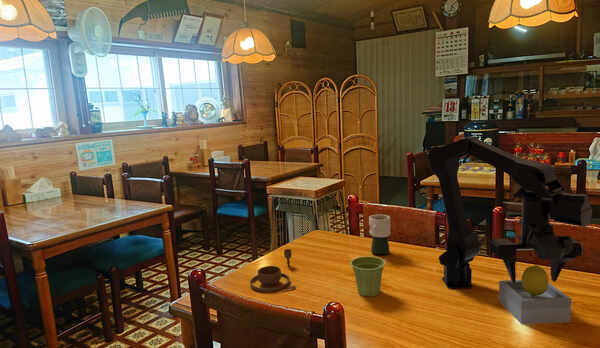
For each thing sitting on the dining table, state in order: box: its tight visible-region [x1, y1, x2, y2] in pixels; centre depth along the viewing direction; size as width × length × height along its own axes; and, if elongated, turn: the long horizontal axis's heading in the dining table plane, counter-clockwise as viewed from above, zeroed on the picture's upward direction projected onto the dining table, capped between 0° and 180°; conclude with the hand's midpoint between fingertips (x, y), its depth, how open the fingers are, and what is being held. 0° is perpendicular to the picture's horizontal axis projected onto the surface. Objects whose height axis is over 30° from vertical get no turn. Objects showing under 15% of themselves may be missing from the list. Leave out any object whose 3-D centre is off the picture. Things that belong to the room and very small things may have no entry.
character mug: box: [368, 214, 391, 255], centre depth 141 cm, size 11×7×13 cm, turn 148°
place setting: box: [249, 248, 297, 295], centre depth 124 cm, size 18×20×6 cm
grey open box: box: [498, 279, 572, 325], centre depth 98 cm, size 11×11×6 cm
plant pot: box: [350, 255, 386, 297], centre depth 112 cm, size 9×9×9 cm
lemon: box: [521, 264, 549, 297], centre depth 97 cm, size 6×6×8 cm
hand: (533, 281), depth 97 cm, fingers open, 9 cm apart
